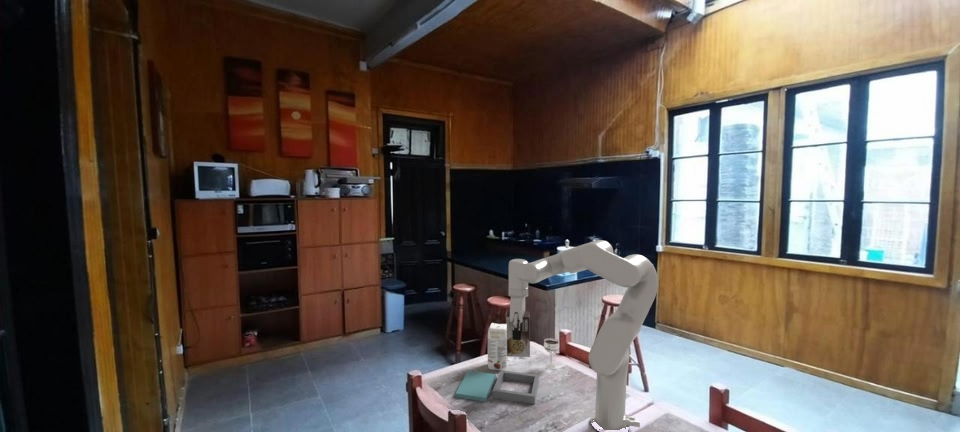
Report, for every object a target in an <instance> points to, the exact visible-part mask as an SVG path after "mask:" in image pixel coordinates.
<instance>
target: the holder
mask: <svg viewBox="0 0 960 432" xmlns="http://www.w3.org/2000/svg"><path fill="white" fill-rule="evenodd" d="M504 380H508V381H514V382H520V383H521V382H523V383H529V384H532V389H531V393H529V392H528V393H527V392H521V391H513V390H509V389H508V390H506V389H502V388H501V387H502V384H503V381H504ZM539 384H540V374H533V373H525V372H518V371H510V370H504V371H503V370H501V371H499V374H498V376H497V379H496V381H495V384H494V387H493V389H492V398H493V399H496V400H497V399H498V400H503V401H511V402H517V403H524V404H531V405H536V399H537V394H538V388H539Z"/></svg>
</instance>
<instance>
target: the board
mask: <svg viewBox="0 0 960 432" xmlns="http://www.w3.org/2000/svg"><path fill="white" fill-rule="evenodd" d="M496 376H497V375H496V373H490V372H482V371H473V370H468V371H466V374H465V376H464V378H463V380H462V381H461V382H460V384H459V386H458V387H457V390H456V392H455V394H454V395H455V398H461V399H466V400H473V401H479V402H487V400H488V397H489V395H490V392H491V390H492V388H493V385H494V383H495V380H496V378H497V377H496Z"/></svg>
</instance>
